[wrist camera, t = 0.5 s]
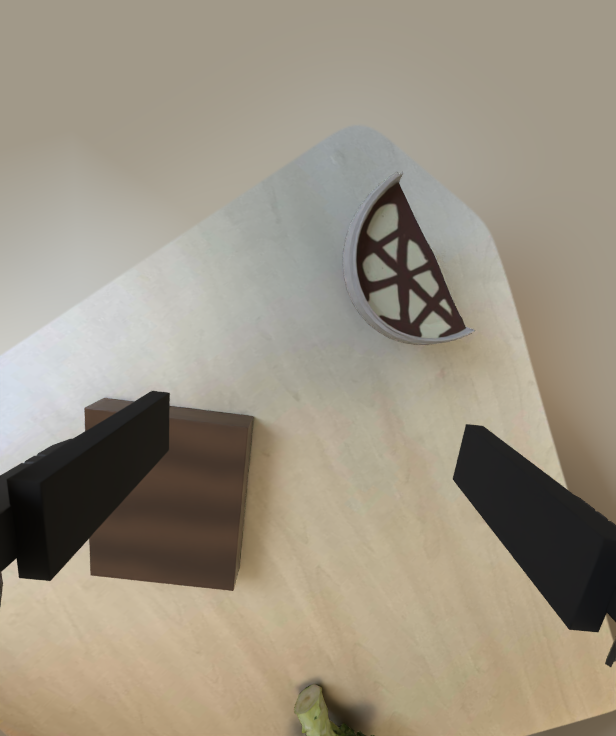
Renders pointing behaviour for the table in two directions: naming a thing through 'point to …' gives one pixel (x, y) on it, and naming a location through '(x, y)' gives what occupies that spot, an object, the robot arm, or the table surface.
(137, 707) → the table surface
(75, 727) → the table surface
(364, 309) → the food container
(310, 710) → the vegetable
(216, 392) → the table surface
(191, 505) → the board
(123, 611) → the table surface
